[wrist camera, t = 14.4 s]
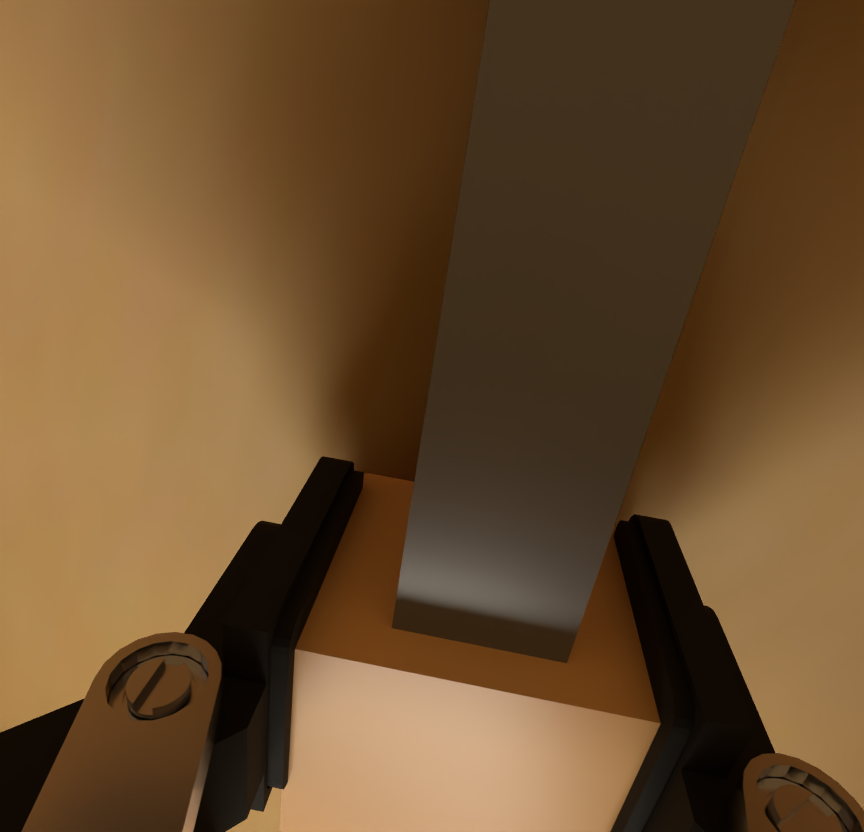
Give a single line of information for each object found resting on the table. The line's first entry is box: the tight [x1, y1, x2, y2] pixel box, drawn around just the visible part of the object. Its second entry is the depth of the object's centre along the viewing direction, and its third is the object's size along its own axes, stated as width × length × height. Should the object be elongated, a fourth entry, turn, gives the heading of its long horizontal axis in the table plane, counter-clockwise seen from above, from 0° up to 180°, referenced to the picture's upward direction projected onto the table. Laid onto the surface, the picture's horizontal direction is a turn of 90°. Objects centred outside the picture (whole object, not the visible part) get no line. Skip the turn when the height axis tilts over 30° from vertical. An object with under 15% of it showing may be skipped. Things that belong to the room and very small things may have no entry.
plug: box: [280, 0, 796, 832], centre depth 7 cm, size 14×4×4 cm, turn 172°
